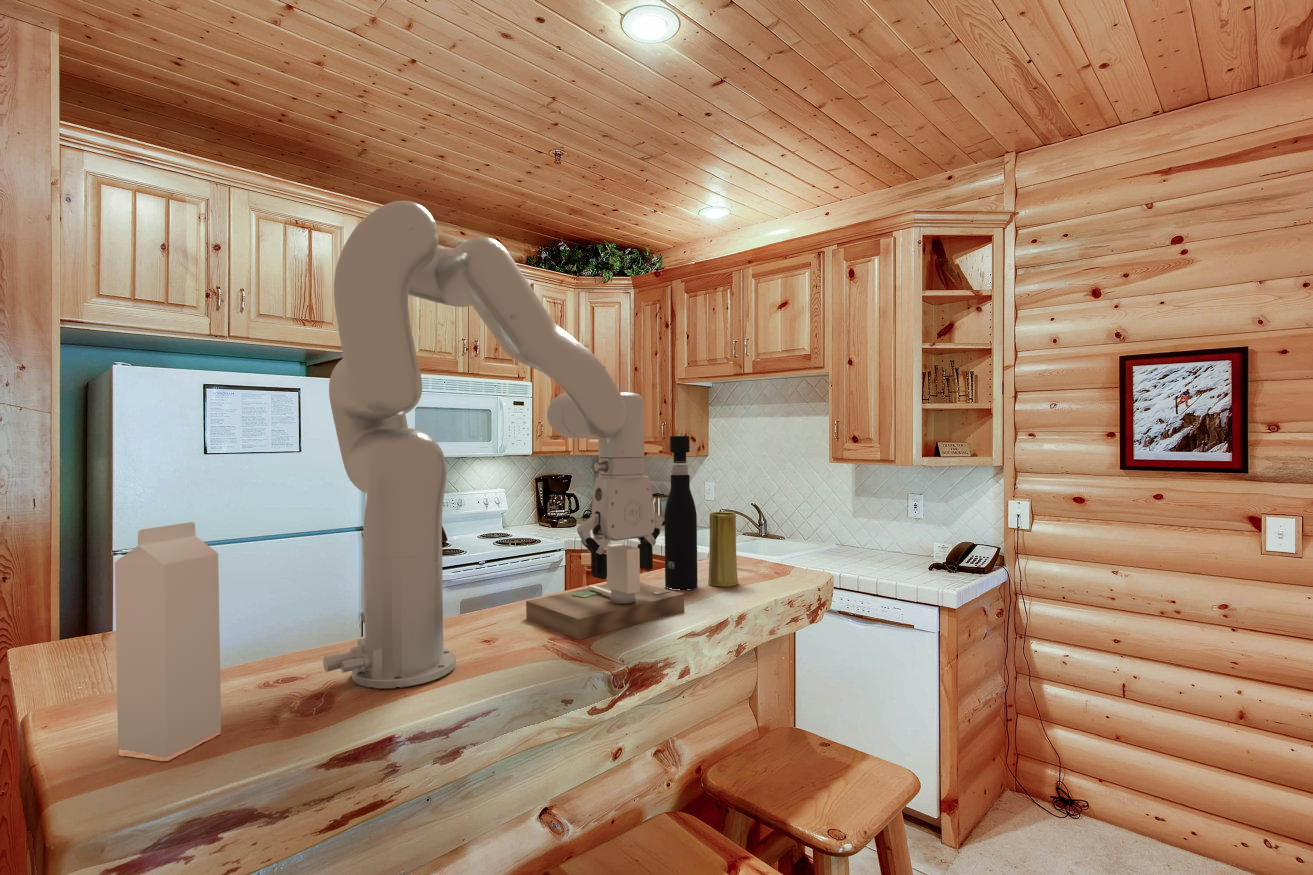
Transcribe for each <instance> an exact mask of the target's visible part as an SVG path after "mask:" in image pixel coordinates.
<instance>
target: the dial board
mask: <svg viewBox="0 0 1313 875" xmlns="http://www.w3.org/2000/svg"><path fill="white" fill-rule="evenodd" d="M597 587H600V588H603V589H606V590H609V591H611V588H607V583H606V584H601V585H597ZM525 608H526V609H525V610H526V612H525V613H526V620H528V621H531V622H533V623H534V624H535V623H536V624H538V625H540V626H541V625H542V626H543V627H546V628H549V629H551V630H554V631H556V632H559V633H562V634H564V635H567V636H569V637H572V638H575V639H576V640H582V639H586V638H589V637H590V638H591V637H593V636H598V635H601V634H604V633H605V634H606V633H608V632H612V631H616V630H620V629H624V628H627V627H630V625H631V626H635V625H638V624H641V622H642V623H644V622H645V621H646V622H649V620H650V621H653V620H657V619H660V618H659V617H661V618H664V617H663V616H665V617H668V616H670V614H672V615H675V614H674V613H676V614H678V613H677V612H679V613H683V612H685V593H682V592H679V591H676V590H670V589H667V588H666V589H665V588H663V587H657V586H654V585H652V584H651V585H650V584H646V583H642V582H640V592H636V593H635V601H634V602H632V603H625V604H619V603H613V602H611V596H609V595H606V594H603V593H600V592H597V591H594V590H591V589H588V587H587V588H586V587H585V588H582V589H576V590H572V591H568V592H563V593H559V594H553V595H549V596H548V595H547V596H543V597H539V598H538V597H537V598H534V599H529V600H528V599H527V600H526V601H525ZM682 611H683V612H682ZM667 615H668V616H667ZM656 618H657V619H656ZM652 619H653V620H652ZM646 622H645V623H646ZM637 623H638V624H637ZM634 624H635V625H634ZM626 626H627V627H626ZM623 627H624V628H623ZM619 628H620V629H619Z"/></svg>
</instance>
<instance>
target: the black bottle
mask: <svg viewBox="0 0 1313 875" xmlns="http://www.w3.org/2000/svg"><path fill="white" fill-rule="evenodd" d="M690 443H691V442H690V435H670V436H669V449H670V450H669V452H670V453H673V461H672V462H673V465H672V467H671V470H672V471H671V473H672V474H671V475H670V490H669V493H668V496H667V500H666V504H665V508H664V509H665V510H664V517H663V519H664V581H665V582H664V586H666V587H668V588H672V589H680V590H686V591H688V590H687V589H693V590H695V589H694V588H696V587H697V588H698V522H697V521H698V514H697V509H696V504H695V501H694V497H693V493H692V492H691V488H690V487H691V486H690V485H691V483H690V482H691V481H690V480H691V479H690V478H691V477H690V474H689V471H688V469H689V466H688V465H687V462H688V461H687V453H690V449H691V448H690V446H691V445H690ZM676 464H677V465H676ZM685 464H686V465H685ZM666 587H665V588H666ZM697 588H696V589H697Z"/></svg>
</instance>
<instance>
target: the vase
mask: <svg viewBox="0 0 1313 875" xmlns="http://www.w3.org/2000/svg"><path fill="white" fill-rule="evenodd" d="M736 517H737V516H736V513H735V512H732V511H713V512H710V513H709V560H708V561H709V562H708V563H709V564H708V581H707V582H708V584H709V586H712V585H713V586H712V587H717V586H720V587H719V588H730V587H735V586H737V585H739V579H738V568H737V567H738V564H737V563H738V562H737V560H738V559H737V558H738V557H737V532H736V531H737V528H736V527H737V524H736V522H737V520H736V519H737V518H736Z"/></svg>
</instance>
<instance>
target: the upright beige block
mask: <svg viewBox="0 0 1313 875" xmlns="http://www.w3.org/2000/svg"><path fill="white" fill-rule="evenodd" d="M605 554H606V555H607V578H606V584H607V588H611V591H609V590H606V589H603V588H600V587H597V586H598V585H597V586H596V585H593V584H590V585H588V587H587V588H588V589H591V590H594V591H597V592H600V593H603V594H606V595H609V596H611V602H613V603H619V604H625V603H632V602H634V601H635V593H636V592H640V583H641V574H640V573H641V568H640V550H639V548H637V547H636V546H632V545H631V546H630V545H627V544H622V543H612V544H608V545H607V547H606V549H605Z"/></svg>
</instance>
